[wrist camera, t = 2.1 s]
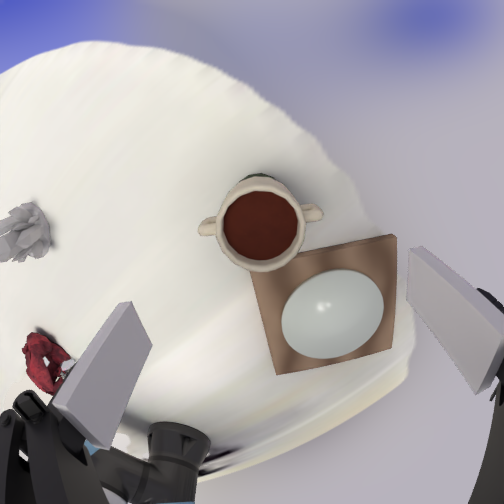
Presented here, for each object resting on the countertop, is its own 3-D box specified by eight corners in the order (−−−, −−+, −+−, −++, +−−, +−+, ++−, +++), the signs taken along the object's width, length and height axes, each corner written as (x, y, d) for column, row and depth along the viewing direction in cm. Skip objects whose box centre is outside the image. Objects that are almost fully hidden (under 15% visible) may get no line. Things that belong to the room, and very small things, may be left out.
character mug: (219, 232, 35) (201, 280, 23) (209, 176, 32) (182, 196, 20) (306, 220, 34) (332, 263, 22) (300, 164, 32) (327, 176, 19)
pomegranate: (28, 321, 44) (10, 333, 35) (78, 336, 48) (65, 351, 39) (32, 379, 43) (17, 396, 35) (79, 394, 47) (69, 414, 39)
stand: (275, 368, 43) (276, 375, 42) (249, 262, 36) (248, 267, 35) (388, 342, 42) (391, 348, 40) (391, 233, 34) (396, 237, 33)
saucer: (289, 362, 41) (289, 366, 40) (272, 281, 36) (272, 285, 35) (379, 341, 40) (381, 345, 39) (381, 258, 34) (384, 261, 33)
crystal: (4, 212, 34) (-54, 241, 20) (45, 193, 33) (-24, 221, 19) (19, 262, 37) (-32, 301, 23) (62, 252, 36) (3, 298, 22)
